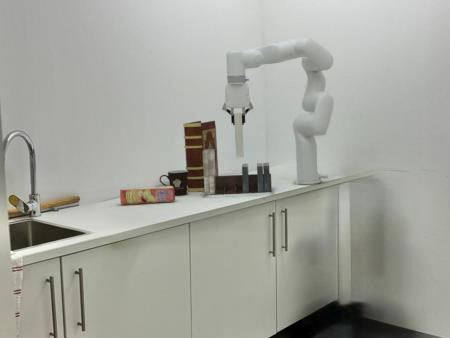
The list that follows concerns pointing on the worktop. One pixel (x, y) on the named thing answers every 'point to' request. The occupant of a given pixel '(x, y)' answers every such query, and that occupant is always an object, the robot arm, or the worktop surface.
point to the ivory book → (239, 135)
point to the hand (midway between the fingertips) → (238, 124)
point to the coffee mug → (178, 181)
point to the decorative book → (198, 151)
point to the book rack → (234, 178)
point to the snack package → (147, 195)
